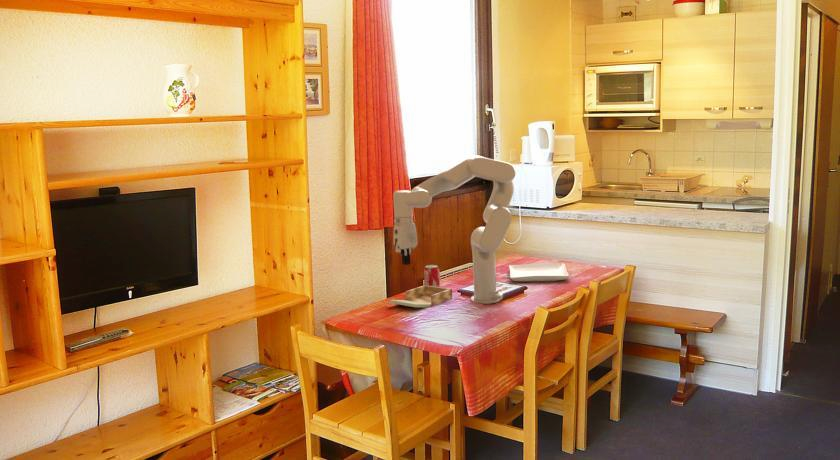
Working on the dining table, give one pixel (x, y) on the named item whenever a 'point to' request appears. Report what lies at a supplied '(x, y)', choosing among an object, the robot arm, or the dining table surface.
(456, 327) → the dining table surface
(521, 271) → the square plate
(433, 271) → the soda can
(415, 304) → the panel
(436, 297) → the crate
